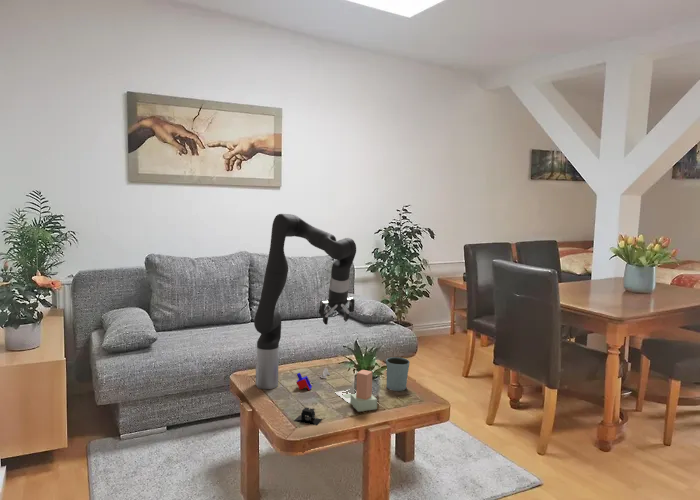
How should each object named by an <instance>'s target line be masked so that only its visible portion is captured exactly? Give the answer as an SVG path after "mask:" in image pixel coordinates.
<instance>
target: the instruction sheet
mask: <svg viewBox="0 0 700 500" xmlns="http://www.w3.org/2000/svg"><path fill="white" fill-rule="evenodd" d="M345 390H346V391H348V390H349V389H345ZM346 391H344V390H339V391H336V392H334V394H335V393H336V394H335V395H336V396H338V397H339V396H340V397H339V398H341V399H342V398H343V399H344V400H343V399H342V400H343V401H345V402H346V403H347V402H348V403H347V404H350V399H351V393H349V392H348V394H346V393H342V392H346ZM342 394H343V395H342Z"/></svg>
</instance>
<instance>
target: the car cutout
mask: <svg viewBox="0 0 700 500" xmlns="http://www.w3.org/2000/svg"><path fill="white" fill-rule="evenodd" d="M328 370H329V369H328V368H327V367H325V368H324V369H323V371H322V374H321V375H319V378H320V377H321V379H327V376H331V372H329V371H328Z"/></svg>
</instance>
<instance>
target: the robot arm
mask: <svg viewBox="0 0 700 500" xmlns="http://www.w3.org/2000/svg"><path fill="white" fill-rule="evenodd" d="M289 237H291V238H292V237H298V238H302V239H304V240H307V242H308V243H309V244H310V245H312V246H313V247H315V248H317V249H320V250H322V251H323V252H324V253H326V254H327V255H328V256H329V257H330V258H331V259H333V260H335V261H334V262H333V263H332V266H331V272H330V279H329V287H328V297H327V298H328V299H327V300H325V301H324V300H320V302H319V307H318V314H319V315H320V317H321V318H322V322H323V323H324V324H325V325H326V326H327V325H328V322H329V315H331V314H332V313H333V312H336V311H342V310H344V311H343V320H344V322H348V321H349V317H350V313H354V312H355V299H354V297H353V296H352V295H351V296H348V295H349V290H350V289H349V288H350V272H351V267H352V265H353V263H354V259H355V256H356V253H357V245H356V241H355V240H354V239H353V238H350V237H345V238H342V239H339V240H337V238H336V236H335V235H333V234H331V233H330V232H328V231H325V230H322V229H320V228H317V227H315V226H313V225H312V224H309V223H308V222H306V220H304V219H302V218H301V217H299V216H297V215H295V214H291V213H290V214H289V213H279V214H277V215H276V216H275V217H274V219H273V222H272V225H271V236H270V244H269V253H268V258H267V262H266V263H267V264H266V266H265V267H266V268H265V273H264V277H263V278H264V279H263V283H262V288H261V294H260V300H259V303H258V306H257V309H256V312H255V315H254V319H253V320H254V321H253V324H254V328H255V330H256V331H257V332H258V333H259V334H260V335H259V338H258V339H257V341H256V362H255V385H256V387H257V389H259V390H261V389H262V390H269V389H270V390H272V389H275V388H277V387H278V386H279V358H280V357H279V355H280V352H279V351H280V349H279V348H280V345H279V344H280V341H281V335H282V317H281V314H280V312H279V311H278V310H277V309H276V306H277V302H278V300H279V298H280V296H281V294H282V292H283V290H284V288H285V287H286V283H287V278H288V274H289V263H288V260H287V257H286V253H285V242H286V238H289ZM347 304H348V307H347V306H346V305H347Z"/></svg>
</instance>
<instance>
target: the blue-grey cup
mask: <svg viewBox="0 0 700 500" xmlns="http://www.w3.org/2000/svg"><path fill="white" fill-rule="evenodd" d="M385 363H386V366H387V370H386V371H385V372H386V373H385V374H386V388H387V389H388V390H390V391H396V392H401V391H402V392H403V391H404V390H406V389H407V385H408V384H407V382H408V376H409V375H408V374H409V369H410V368H409V367H410V360H409V359H407V358H405V357H400V356H399V357H398V356H393V357H391V356H390V357H387V358H386V360H385Z"/></svg>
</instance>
